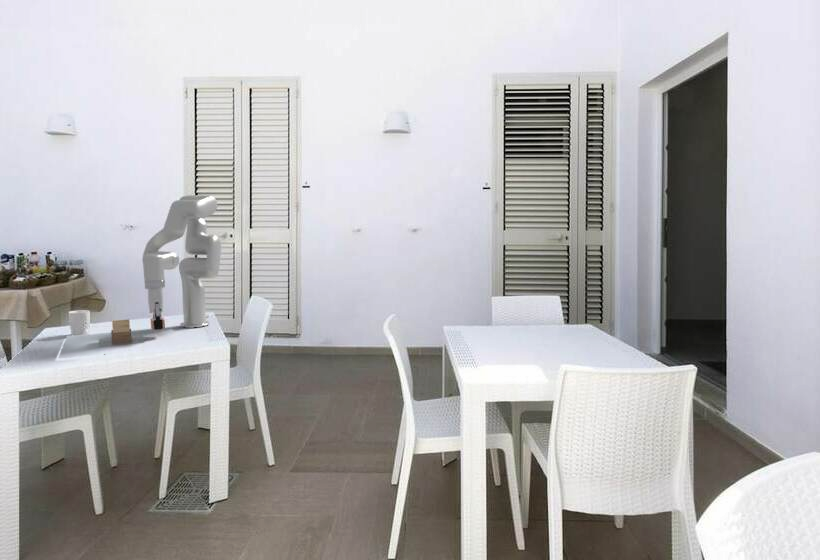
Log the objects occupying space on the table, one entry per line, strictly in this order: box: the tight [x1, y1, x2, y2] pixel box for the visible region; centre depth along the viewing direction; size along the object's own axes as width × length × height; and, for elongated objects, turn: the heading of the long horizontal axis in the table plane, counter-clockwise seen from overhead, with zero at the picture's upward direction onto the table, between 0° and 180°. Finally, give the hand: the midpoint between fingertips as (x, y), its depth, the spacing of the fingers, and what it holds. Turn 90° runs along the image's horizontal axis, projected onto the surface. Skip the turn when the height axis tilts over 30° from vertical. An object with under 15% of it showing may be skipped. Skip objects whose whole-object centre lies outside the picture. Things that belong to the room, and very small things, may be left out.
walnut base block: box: [110, 328, 132, 343], centre depth 226 cm, size 7×7×4 cm
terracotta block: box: [150, 316, 166, 331], centre depth 232 cm, size 5×5×4 cm
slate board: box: [98, 334, 145, 348], centre depth 226 cm, size 16×16×1 cm
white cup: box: [68, 309, 91, 336], centre depth 242 cm, size 8×8×10 cm
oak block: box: [111, 318, 131, 333], centre depth 225 cm, size 6×6×4 cm
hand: (158, 327), depth 232 cm, fingers closed on terracotta block, 4 cm apart
